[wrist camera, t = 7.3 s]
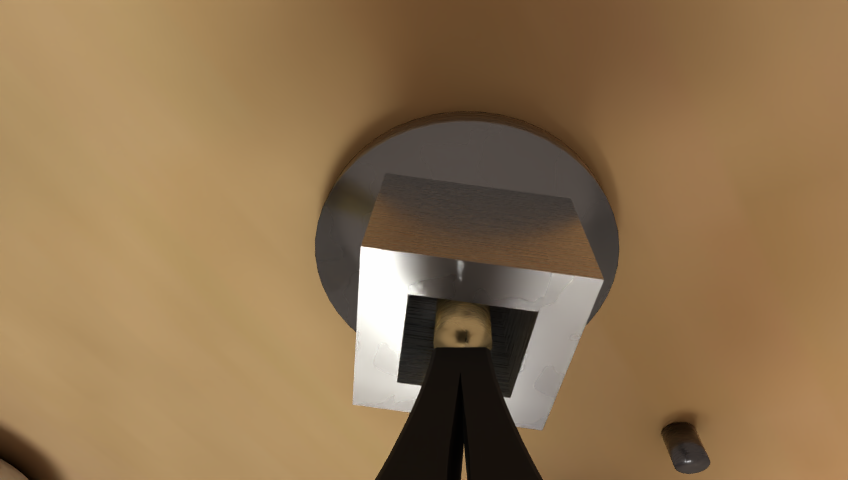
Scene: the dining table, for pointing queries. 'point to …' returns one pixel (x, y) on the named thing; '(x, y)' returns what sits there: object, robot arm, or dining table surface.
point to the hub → (467, 164)
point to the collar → (471, 288)
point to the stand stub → (685, 448)
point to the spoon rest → (10, 472)
